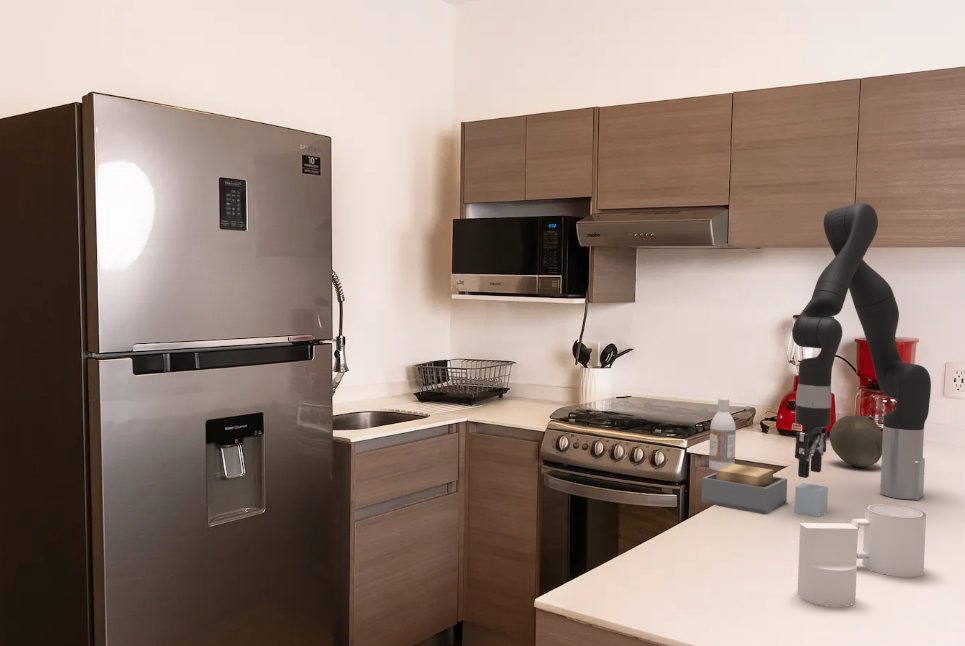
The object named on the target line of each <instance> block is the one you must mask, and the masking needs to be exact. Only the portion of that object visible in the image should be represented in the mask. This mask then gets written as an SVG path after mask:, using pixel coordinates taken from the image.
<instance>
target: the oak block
mask: <svg viewBox="0 0 965 646" xmlns="http://www.w3.org/2000/svg"><path fill="white" fill-rule="evenodd" d="M716 472H717V473H716ZM716 472H715V473H716V480H722V481H728V482H734V483H740V484H746V485H752V486H758V487H764V488H765V487H767V486H769V485H771V484H773V477H774V469H771V468H770V469H769V468H762V467H756V466H751V465H750V466H749V465H744V464H736V463H735V464H731V465H729V466H726V467H724V468H721V469H719V470H716Z"/></svg>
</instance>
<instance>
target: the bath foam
mask: <svg viewBox="0 0 965 646" xmlns="http://www.w3.org/2000/svg"><path fill="white" fill-rule="evenodd" d="M717 401H718V402H717V404H718V405H717V408H718V409H717V412H716V413H715V414H714V416H713V417H712V420H711V422H710V425H709V426H710V428H709V452H708V468H709V469H711V470H713V471H717V470H719V469H721V468H724V467H726V466H729V465H731V464H736V463H735V461H736V459H735V458H736V437H737V436H736V433H737V430H736V427H737V426H736V422H735V420H734V418H733V416H732V414H731V413H730V412H729V411H730V398H726V397H720V398H718V400H717Z"/></svg>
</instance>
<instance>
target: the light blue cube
mask: <svg viewBox="0 0 965 646" xmlns="http://www.w3.org/2000/svg"><path fill="white" fill-rule="evenodd" d="M828 489H829V486H826V485H820V484H814V483H813V484H812V483H806V482H802V483H800V484H799V485H797V486H795V498H794V513H795V514H799V515H800V514H801V515H805V514H806V516H811V515H812V517H816V516H819V517H818V518H820V517H822V516H823V515H825V514H826V513H828V493H829V492H828V491H829V490H828ZM824 513H825V514H824ZM813 515H814V516H813ZM821 515H822V516H821Z"/></svg>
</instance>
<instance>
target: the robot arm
mask: <svg viewBox="0 0 965 646" xmlns="http://www.w3.org/2000/svg"><path fill="white" fill-rule="evenodd" d="M878 226H879V218H878V215H877V212H876V210H875V209H874V207H873V206H872V205H871V204H869V203H866V202H864V203H863V202H862V203H854V204H850V205H846V206H841V207H838V208H834V209H830V210H828V211H827V212H826V213H825V215H824V217H823V229H824V233H825V236H826V239H827V241H828V243H829V244H828V245H829V246H830V248H831V250H832V252H833V254H834V256H835V257H834V258H833V259H832V260H831V261H830V263H828V265H827V266H826V267H825V268H824V269H823V270H822V272H821V274H820V275H819V276H818V278H817V281H816V284H815V286H814V290H813V292H812V296H811V299H810V300H809V301H808V303H807V304H806V306H805V307H804V308H803V309H802V311H801V312H800V314H799V315H798V316H797V318H796V320H795V321H794V323H793V326H792V329H791V336H792V339H793V341H794V343H795V344H796V346H798V347H801V348H810V349H811V348H812V349H820V351H819V354H818V355H817V356H815V357H808V358H807V357H806V358H804V359H801V360H800V362H799V365H798V379H797V381H798V383H797V389H796V396H795V399H796V400H795V412H794V413H795V417H794V423H795V424H796V425H799V426H801V427H802V430H801V431H796V434H795V435H796V436H795V451H794V459H797V461H798V467H797V468H798V471H797V472H798V473H797V475H798V477H799V478H803V479H804V478H805V479H807V478H809V477H810V471H811V472H813V473H821V472H822V462H823V460H822V459H823V458H822V457H823V456H824V453H826V451H827V433H828V429H827V428H828V427H830V426H831V416H832V415H831V414H832V398H833V396H832V373H833V366H834V361H835V360H836V359H835V358H836V356H837V353H838V349H839V347H840V344H841V341H842V338H843V328H842V324H841V323H840V321H839V320H837V318H833V317H834V316H837V315H838V314H840V313H841V311H842V310H843V307H844V303H845V300H846V298H847V297H846V296H847V294H848V292H849V293H850V297H851V300H852V303H853V306H854V309H855V312H856V315H857V317H858V320H859V322H860V325H861V328H862V331H863V333H864V336H865V340H866V342H867V345H868V349H869V352H870V355H871V356H870V357H871V361H872V365H873V370H874V374H875V378H876V381H877V384H878V387H879V390H880V391H881V392H882V393H883V394H884V395H885V396H887V397H889V398H892V399H895V400H896V406H895V409H894V410H893V411H890V412H887V413H885V414H884V415H883V418H882V419H883V420H882V435H883V439H882V456H881V461H880V462H881V463H880V464H881V467H880V470H881V471H880V484H879V485H880V490H879V492H880V494H881V495H883V496H885V497H889V498H895V499H900V500H915V501H919V500H920V499H921V498H922V497H924V490H925V488H924V485H925V482H924V481H925V463H926V460H925V458H924V438H925V423H926V421H927V419H928V417H929V412H930V403H931V402H930V401H931V393H932V392H931V391H932V380H931V376H930V373H929V371H928V370H927V369H926V367H924V366H923V365H920V364H915V363H907V362H904V361H903V360H902V357H901V354H900V353H899V350H898V347H897V343H896V335H897V329H898V325H899V319H900V312H899V311H900V310H899V306H898V303H897V301H896V297H895V295H894V292H893V291H894V290H893V289H892V287H891V285H890V284H889V283H888V282H887V280H886V279H885V278H883V276H882V275H880V274H879V273H878V272H877V271H876V270H875V269H874V268H872V267H871V266H870V265H869V264H868V263H866V261H865V260H864V257H865V255H866V253H867V251H868V250H869V247H870V246H871V244H872V242H873V240H874V238H875V236H876V233H877V231H878Z"/></svg>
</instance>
